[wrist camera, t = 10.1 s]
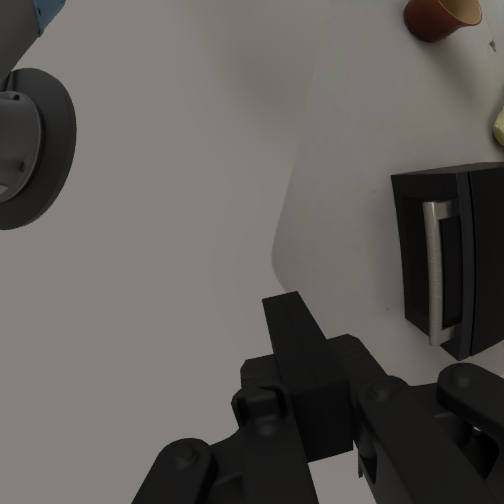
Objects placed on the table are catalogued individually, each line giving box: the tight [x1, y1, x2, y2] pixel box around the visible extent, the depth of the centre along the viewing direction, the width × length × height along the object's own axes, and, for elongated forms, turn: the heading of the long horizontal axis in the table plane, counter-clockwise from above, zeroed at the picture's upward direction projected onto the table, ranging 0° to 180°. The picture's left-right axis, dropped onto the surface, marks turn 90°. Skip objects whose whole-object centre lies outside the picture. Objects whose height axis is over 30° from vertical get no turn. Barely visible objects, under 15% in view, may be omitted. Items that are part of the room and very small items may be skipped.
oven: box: [402, 162, 504, 357], centre depth 33 cm, size 16×20×14 cm
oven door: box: [391, 171, 474, 361], centre depth 33 cm, size 5×20×14 cm, turn 12°
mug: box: [403, 0, 482, 42], centre depth 28 cm, size 12×9×10 cm
